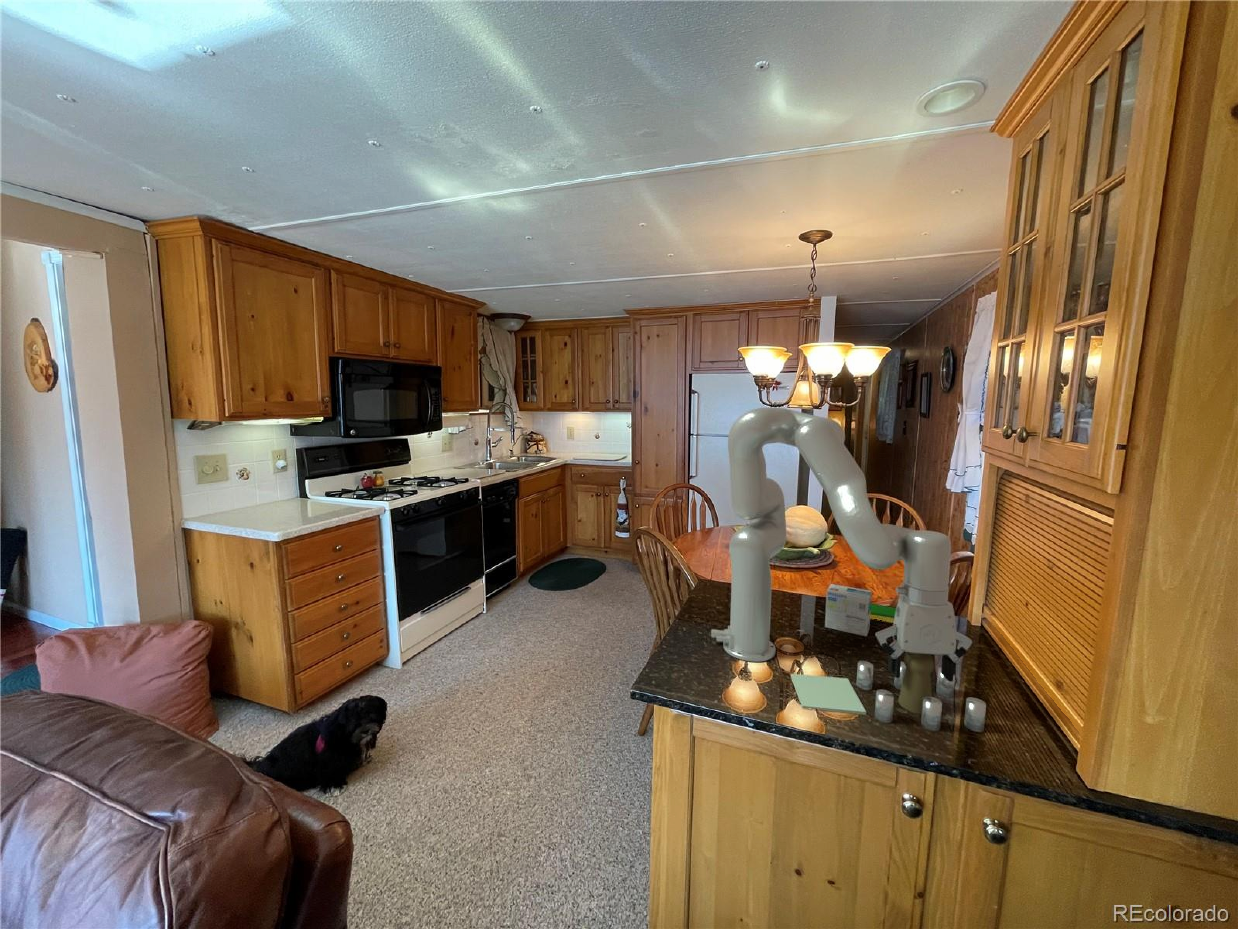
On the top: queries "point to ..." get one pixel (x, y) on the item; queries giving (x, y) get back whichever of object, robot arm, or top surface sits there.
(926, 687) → the olive rounded piece
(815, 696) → the mat
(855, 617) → the light bulb box
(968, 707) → the spacer field
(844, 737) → the top surface
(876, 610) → the dish sponge
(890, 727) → the top surface
